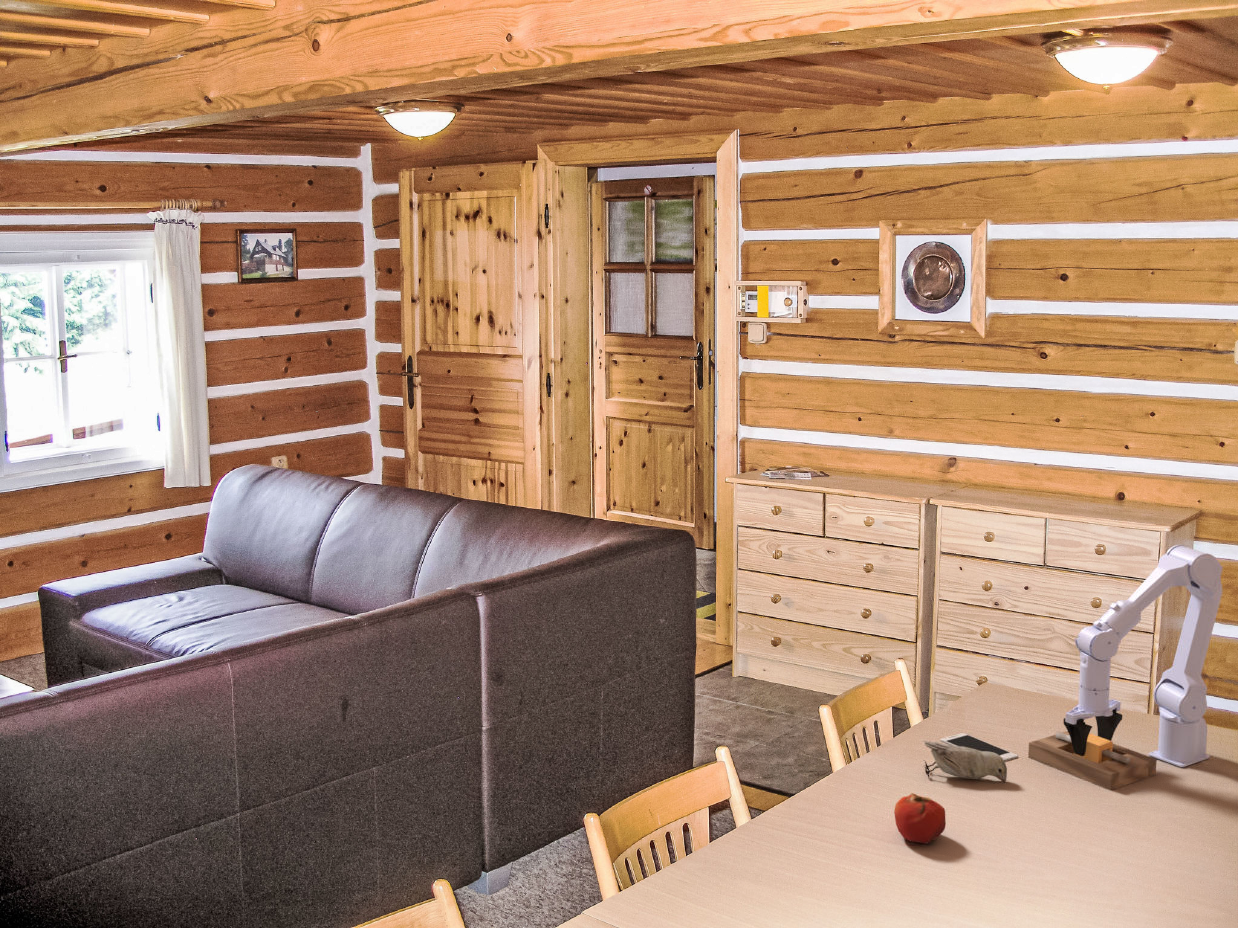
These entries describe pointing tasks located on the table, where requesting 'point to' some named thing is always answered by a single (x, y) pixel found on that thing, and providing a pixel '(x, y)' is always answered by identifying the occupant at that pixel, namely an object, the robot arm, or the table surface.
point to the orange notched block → (1096, 748)
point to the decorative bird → (966, 762)
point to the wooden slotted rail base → (1106, 774)
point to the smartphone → (977, 745)
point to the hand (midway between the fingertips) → (1091, 750)
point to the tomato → (919, 818)
